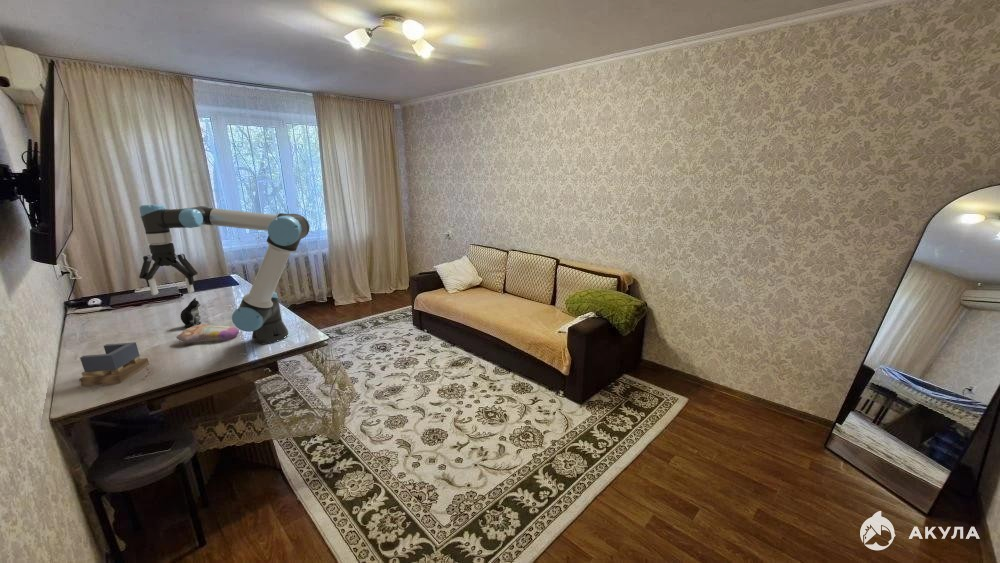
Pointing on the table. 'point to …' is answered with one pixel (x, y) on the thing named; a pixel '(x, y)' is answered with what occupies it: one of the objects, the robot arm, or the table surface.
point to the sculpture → (207, 333)
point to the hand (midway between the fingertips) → (173, 293)
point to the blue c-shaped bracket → (110, 357)
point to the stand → (114, 373)
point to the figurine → (191, 314)
